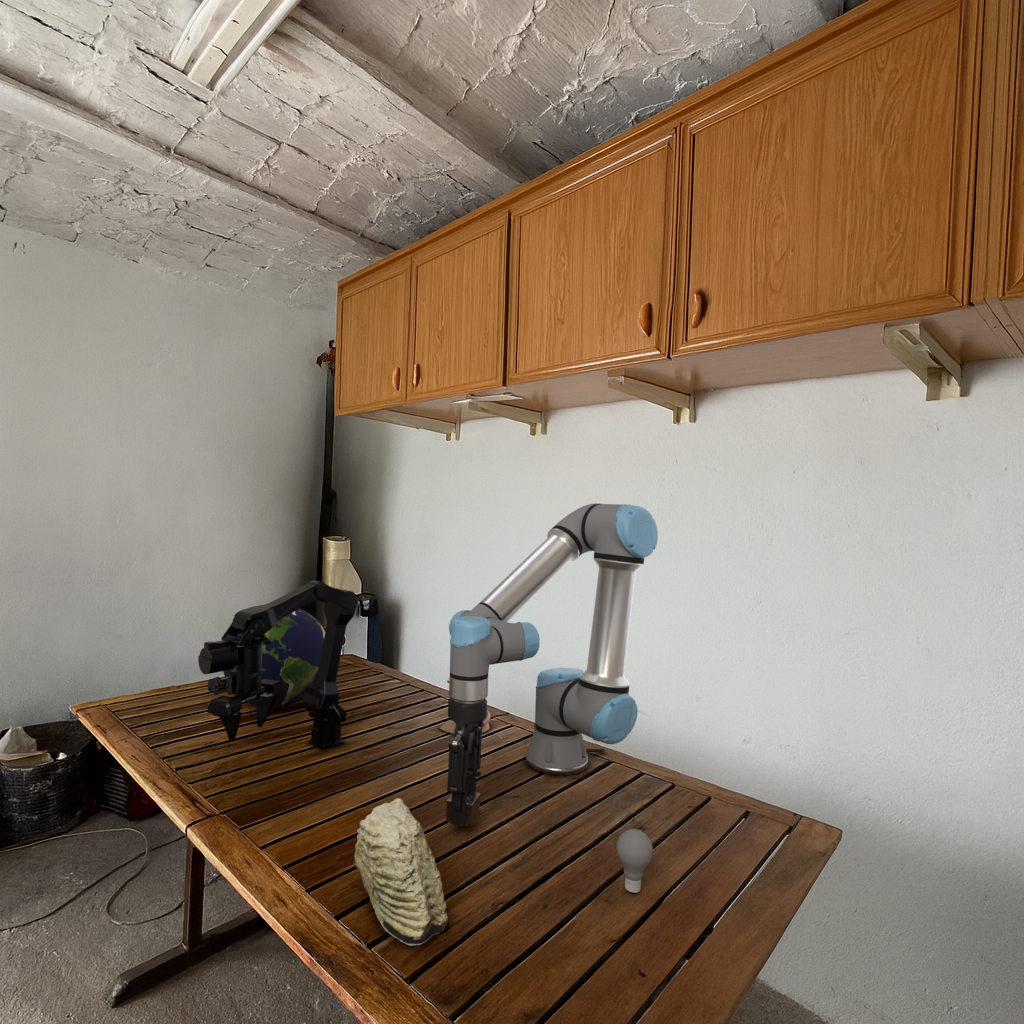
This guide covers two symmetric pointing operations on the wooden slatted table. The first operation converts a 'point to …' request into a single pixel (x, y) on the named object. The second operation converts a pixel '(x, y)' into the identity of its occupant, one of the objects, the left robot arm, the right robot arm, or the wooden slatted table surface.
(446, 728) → the anatomical model
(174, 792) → the wooden slatted table surface
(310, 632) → the globe
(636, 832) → the light bulb
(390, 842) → the fossil
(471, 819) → the grey metal block
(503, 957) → the wooden slatted table surface
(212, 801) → the wooden slatted table surface
